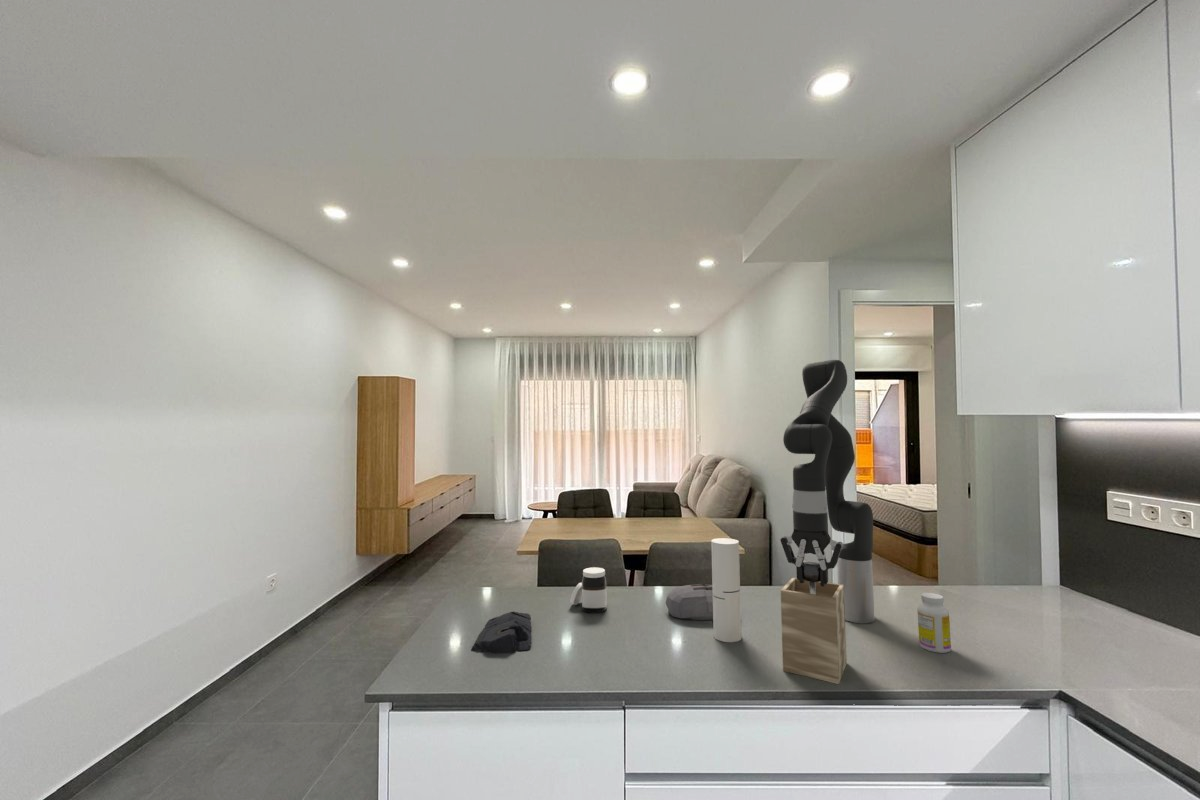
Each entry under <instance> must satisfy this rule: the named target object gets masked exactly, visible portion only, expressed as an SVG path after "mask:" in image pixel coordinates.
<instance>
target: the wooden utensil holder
mask: <svg viewBox="0 0 1200 800" xmlns="http://www.w3.org/2000/svg"><path fill="white" fill-rule="evenodd" d="M815 590H816V595H815V594H810V581H806V580H805V581H804V583H800V581H799V580H797V577H791V578H790V580H789V581H788V582H787V583H786V584H785V585H784V586H783V587H782V588H781V589H780V610H781V611H780V612H781V616H780V617H781V642H782V643H781V644H782V650H781V652H782V671H783V672H787V673H791V674H796V675H798V676H799V675H800V676H804V677H808V678H811V679H816V680H820V681H825V682H828V683H831V684H837V685H839V684H840V682H841V679H842V676H843V673H844V672H845V668H846V666H847V663H848V662H847V660H848V659H847V639H846V638H847V637H846V634H847V633H846V620H845V604H844V585H841V584H838V583H832V582H828V583H827V584H825V586H821V584H820V582H815Z"/></svg>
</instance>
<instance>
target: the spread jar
mask: <svg viewBox="0 0 1200 800" xmlns="http://www.w3.org/2000/svg"><path fill="white" fill-rule="evenodd" d="M605 575H606V569H604V568H603V567H595V566H593V567H587V568H584V569H583V570H582V580H581V582H578V584H577V585H576V586H575V587H574V588H573V591H572V593H571V596H570V603H571V604H572V605H574V606H577V605H578V604H580V603H581V608H582V610H583V611H585V612H586V611H587V613H592V612H593V613H601V612H604V611H606V609H607V605H608V603H607V602H608V600H607V599H608V596H607V594H608V593H607V585H608V584H607V578H606V576H605Z"/></svg>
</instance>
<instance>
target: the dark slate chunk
mask: <svg viewBox="0 0 1200 800" xmlns="http://www.w3.org/2000/svg"><path fill="white" fill-rule="evenodd" d="M531 620H532V617H531V614H529V613H527V612H525V613H524V612H518V611H509V612H506V613H503V614H502V615H500V616H495V617H492V618H489V620H488V621H487V622H486V623H485V625H484V627H483V629H482V630H481V631H480V633H479V634H478V636H477V638H476V640H475V641H474V643H473V645H472V647H471V652H472V651H475V654H479V653H482V654H483V653H491V654H509V653H516V652H522V651H529V650H530V649H531V648H532V643H533V642H532V638H533V637H532V629H533V628H532V621H531Z"/></svg>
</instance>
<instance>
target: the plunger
mask: <svg viewBox="0 0 1200 800" xmlns="http://www.w3.org/2000/svg"><path fill="white" fill-rule="evenodd" d="M820 569H821V567H820V564H819V562H814V561H803V579H804V580H806V581H810V594H815V595H816V590H815V582H820Z"/></svg>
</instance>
